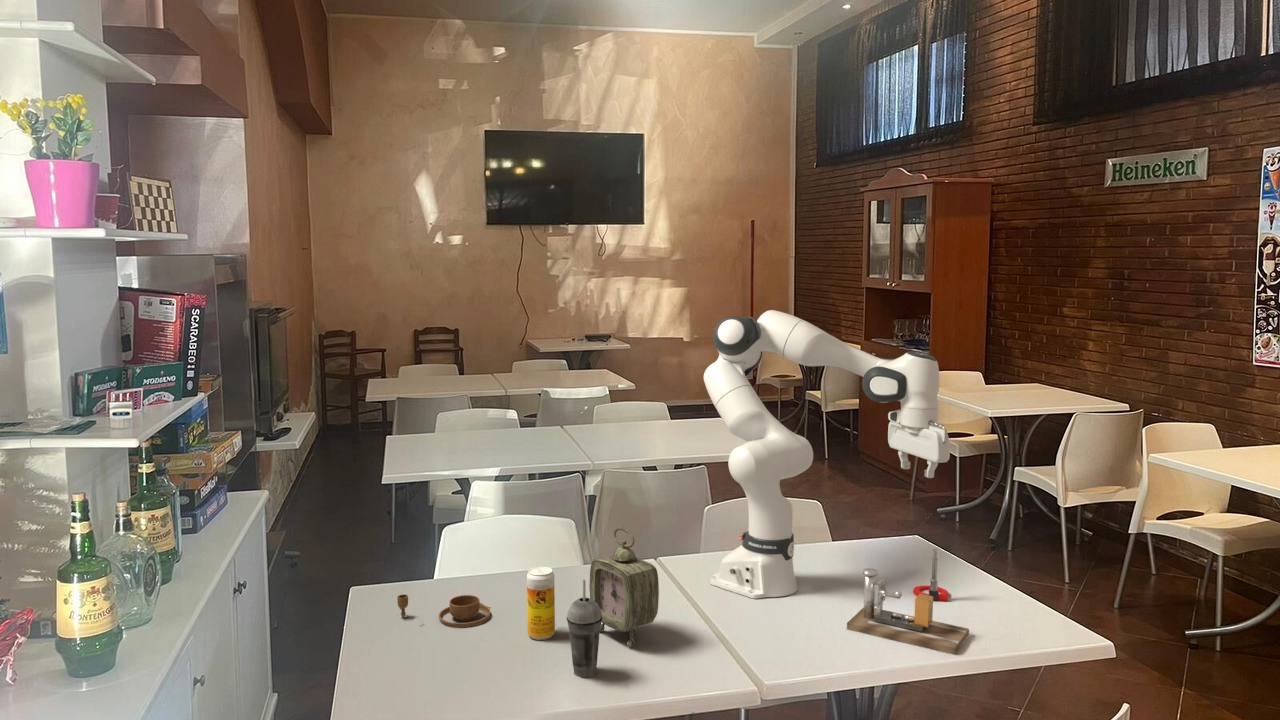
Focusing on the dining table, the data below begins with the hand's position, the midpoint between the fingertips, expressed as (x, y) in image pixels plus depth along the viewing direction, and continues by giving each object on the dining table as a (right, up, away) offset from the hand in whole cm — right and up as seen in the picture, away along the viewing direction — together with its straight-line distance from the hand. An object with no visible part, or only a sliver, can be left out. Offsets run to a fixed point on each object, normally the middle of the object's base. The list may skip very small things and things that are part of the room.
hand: (917, 472), depth 223 cm
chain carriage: (-9, -32, -19) cm, 38 cm away
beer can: (-91, -34, -21) cm, 99 cm away
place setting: (-114, -33, -10) cm, 119 cm away
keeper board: (-8, -34, -20) cm, 40 cm away
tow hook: (+4, -31, +3) cm, 32 cm away
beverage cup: (-80, -36, -39) cm, 96 cm away
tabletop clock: (-72, -34, -22) cm, 83 cm away
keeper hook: (-13, -32, -16) cm, 38 cm away
